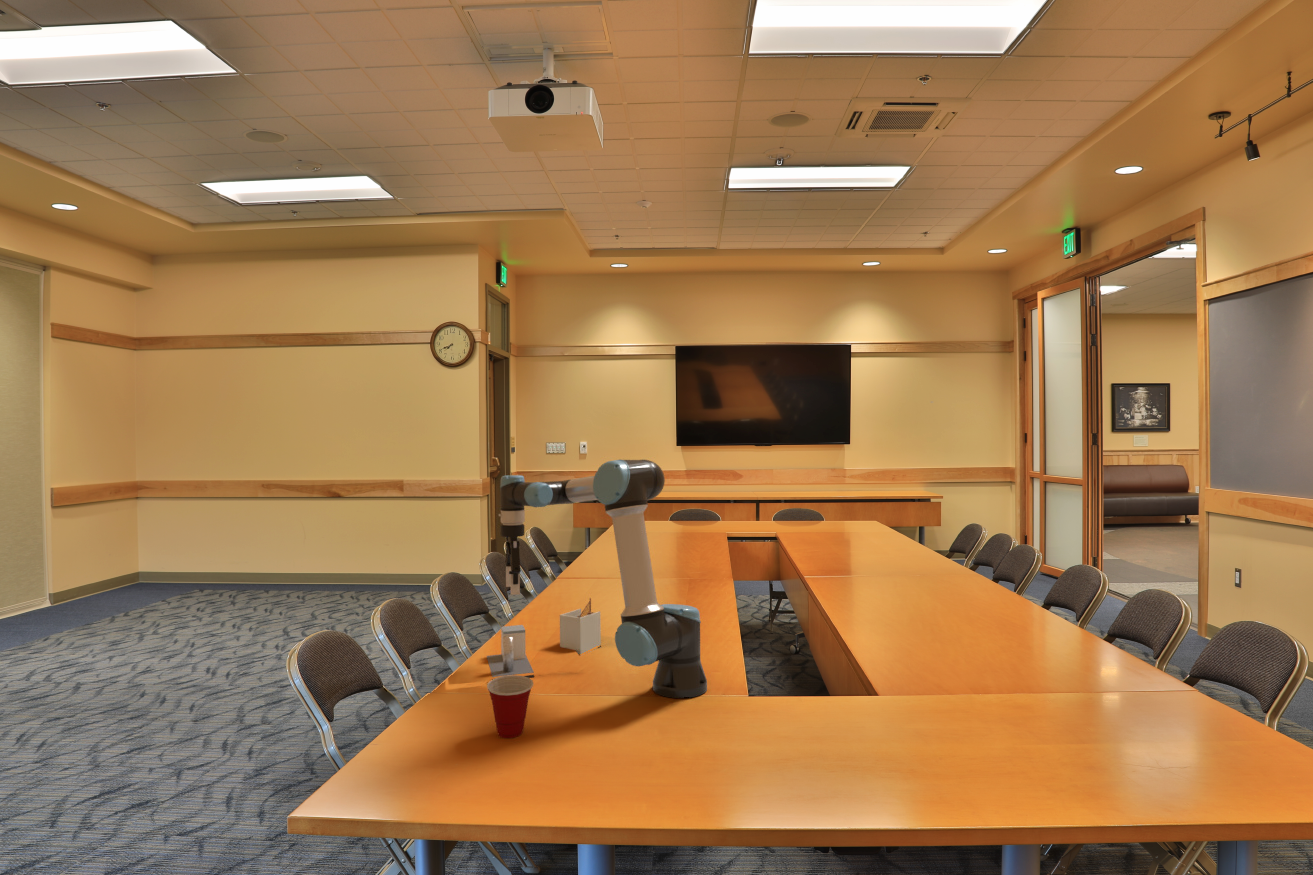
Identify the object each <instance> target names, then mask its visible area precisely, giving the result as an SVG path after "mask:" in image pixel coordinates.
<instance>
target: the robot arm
mask: <svg viewBox="0 0 1313 875" xmlns="http://www.w3.org/2000/svg"><path fill="white" fill-rule="evenodd" d="M665 481H666V480H665V475H664V472H663V469H662V468H661V467H660V466H659V465H658V464H657V463H656V462H655V461H653V460H648V459H615V460H609V461H605V462H604V463H602V464H601V465H600V466H599V467H598V469H597V471H596V472H595V474H594V475H593V476H592V475H591V476H585V477H579V478H578V477H577V478H571V479H565V480H556V481H553V480H552V481H531V482H530V481H529V482H528V481H526V480H525V476H523V475H520V474H518V475H517V474H516V475H515V474H514V475H513V474H512V475H507V474H506V475H502V476H501V478H500V486H499V490H500V492H499V496H500V500H499V501H500V513H498V517H500V523H501V525H500V527H499V528H500V529H499V530H500V531H499V532H500V537H504V538H506V539H505V540H506V541H505V561H504V563H505V587H506V588H510V596H517V595H520V594H521V591H520V590H521V587H520V586H521V585H520V584H521V582H520V581H521V577H520V576H521V575H520V574H521V572H522V570H521V558H520V556H521V555H520V541H519V540H518V537H523V536H525V523H524V522H525V519H526V518H525V515H526V514H525V507H533V508H544V507H547V506H553V505H571V504H575V503H581V502H590V501H596V500H597V501H598V502H599V503H601V504H602V505H604V512H605V514H607V515H608V516H609V517H611V519H612V520H611V522H612V525H613V533H614V540H615V547H616V553H617V554H616V555H617V560H618V566H619V573H620V581H621V587H622V596H623V601H624V602H623V603H624V609H623V610H622V612H621V613H620V620H621V624H620V625H618V627H617V628H616V632H615V634H614V642H615V648H616V649H617V653H618V654H619V655H620V657H621V658H622V659H624V660H625V661H626V663H627V664H629V665H631V666H633V667H644V666H650V665H652V664H654V663H656V662H657V665H656V668H655V669H656V670H655V672H654V675H653V679H652V690H653V692H654V693H655V694H657V695H659V696H662V697H667V698H671V697H672V698H673V699H685V698H684V697H689V698H694V697H698V696H701V695H703V694H706V692H707V690H708V681H707V680H708V679H707V677H706V673H705V671H704V667H703V664H702V661H701V624H702V623H701V614H700V610H699V609H698V608H697V607H694V606H692V605H687V604H674V603H665V604H664V603H663V604H660V603H659V601H658V599H657V593H656V587H655V579H654V574H653V573H654V572H653V567H652V561H651V556H650V555H651V553H650V548H649V540H648V533H647V528H646V523H645V522H646V521H645V516H644V512H645V511H646V510H647V508H648V507H649V506H648V501H651V500H653V499H655V498H657V497H658V496H659V495H660V494H661V493H662V491H663V489H664V487H665Z"/></svg>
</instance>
